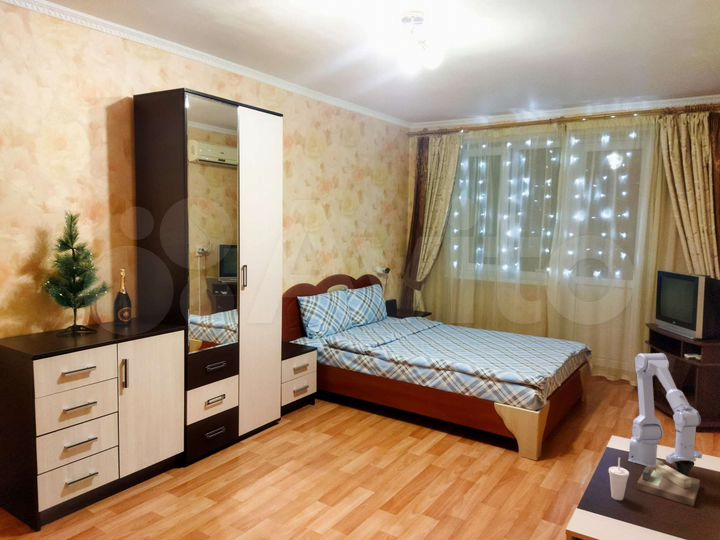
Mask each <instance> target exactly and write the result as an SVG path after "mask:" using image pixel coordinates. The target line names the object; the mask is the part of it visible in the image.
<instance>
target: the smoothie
mask: <svg viewBox="0 0 720 540" xmlns="http://www.w3.org/2000/svg"><path fill="white" fill-rule="evenodd" d="M617 461H618V462H617V466H609V468H608V473H609V481H610V483H609V484H610V496H611V498H612V499H614V500H616V501H622V500H624V497H625V494H626V493H625V492H626V488H627V484H628V482H627V481H628V478H629V476H630V471H628V470H627V469H625V468H623V467H621V457H618V458H617Z"/></svg>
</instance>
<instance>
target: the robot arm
mask: <svg viewBox="0 0 720 540" xmlns="http://www.w3.org/2000/svg"><path fill="white" fill-rule="evenodd" d="M634 363H635V364H634V365H635V366H634V367H635V368H634V369H635V373H636V376H637V378H636V380H637V393H638V395H637V396H638V409H639V410H638V411H639V414H638V416H637V417H635V418H634V419H632V421H633V422H632V423H633V424H632V429H631V434H632V436H631V438H630V441H629V447H628V448H629V451H628V452H629V453H628V462H630V463H634V464H638V465H642V466H645V467H647V465H648V466H652V467H655V468H656V460H658V459H657V455H658V454H657V452H658V443H660V440H662V439H663V438H664V429H663V426H662V422H661V420H659V419H658V418H657V417H656V415H655V401H654V399H655V398H654V387H653V386H654V385H653V384H654V383H653V382H654V381H653V377H654V376H656V377H657V379H658V381H659V382H660V383H661V385H662V387H663V388H664V389H665V392H666V395H665V398H666V400H667V402H668V403H669V406H670V408H671V409H672V411H673V415H672V418H673V422H674V427H675V428H674V429H675V430H676V432H675V447H674V452H672V453H671V454H668V455H666V456H665V462H667V463H669V464H673V463H674V464H675V465H676V468H677V471H678V472H680V473H681V474H683V475H685V476H689V473H690V471H691V469H692V468H693V467H694V466H695V462H696V461H697V459H702V458H703V452H701V451H698V450H695V446H696V445H695V444H696V440H695V439H696V429H697V426H700V424H701V421H702V418H701V415H700V414H699V413H700V412H699V411H698V410H697V409H695V408H694V407H693V406H691V405H690V403H689V402H688V399H687V397H686V396H685V394H684V392H683V391H682V390H680V389H678V388H677V385H676V383H675V381H674V379H673V376H672V374H671V372H670V370H669V366H670V362H669V360H668V357H667V356H666V354H665V353H663V352H659V353H657V352H656V353H638V354H637V355H636V356H635V357H634Z"/></svg>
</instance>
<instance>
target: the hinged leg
mask: <svg viewBox="0 0 720 540" xmlns="http://www.w3.org/2000/svg"><path fill="white" fill-rule="evenodd" d="M655 468H656V470H655V471H656V472H657V473H659V474H660V475H662V476H664V477H665V478H667V479H669V480H671V481H672V482H674V483H676V484H677V485H679V486H681V487H682V488H689V487H691V479H690V478H689V477H690V476H688V475H687V476H688V477H687V476H685V475H683V474H681V473H680V472H678V470H676V469H674V468H673V467H670V466H669V465H667V464H665V463H664V461H663V460H661V459H660V460H659V459H657V460H656V467H655Z"/></svg>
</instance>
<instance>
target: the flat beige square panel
mask: <svg viewBox="0 0 720 540" xmlns="http://www.w3.org/2000/svg"><path fill="white" fill-rule="evenodd" d="M655 470H656V467H652V466H648V465H647V466H645V468H644V469H643V471H642V473H641V475H640V477H639V479H638V480H637V483H636V490H637V491H638V490H639V491H642V492H646V493H647V494H651V495H655V496H657V497H661V498H664V499H668V500H671V501H674V502H678V503H681V504H684V505H688V506H690V507H694V504H695V501H696V499H697V495H698V492H699V489H700V485H701V479H699V478H695V477H692V476H689V475H687V477H689V478H690V479H691V487H689V488H682V487H681V486H679V485H677V484H676V483H674V482H672V481H671V480H669V479H667V478H665V477H664V476H662V475H660V474H659V473H657V472H656V471H655Z"/></svg>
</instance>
